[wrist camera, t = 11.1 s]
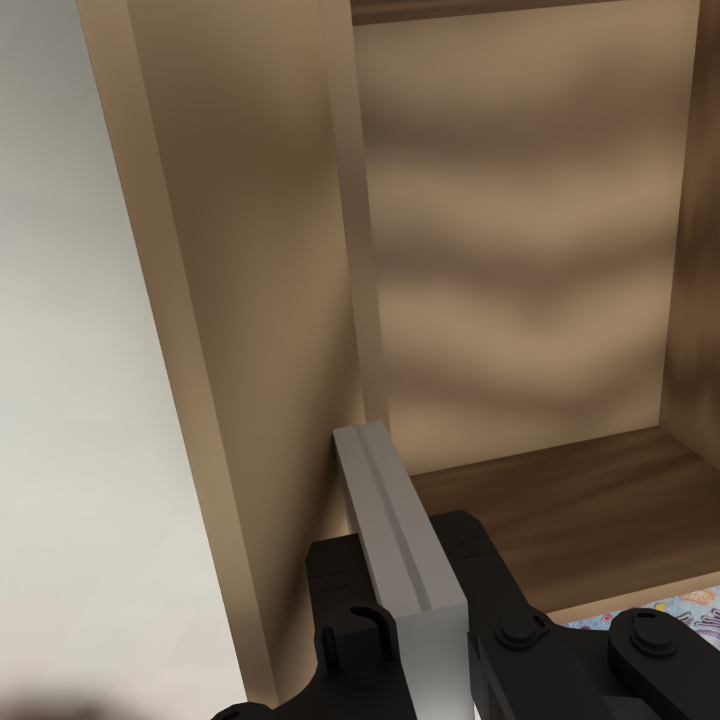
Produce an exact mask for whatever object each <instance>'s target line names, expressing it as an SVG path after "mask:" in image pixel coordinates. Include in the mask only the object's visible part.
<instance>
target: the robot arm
mask: <svg viewBox="0 0 720 720" xmlns="http://www.w3.org/2000/svg"><path fill="white" fill-rule="evenodd" d="M333 439H334V445H335V452H336V459H337V466H338V473H339V480H340V487H341V493H342V500H343V507H344V514H345V519H346V523H347V527H348V531H349V535H345V536H340V537H335V538H330V539H326V540H321V541H316V542H312V544H311V547H310V549H309V551H308V554H307V556H306V559H305V565H306V572H307V579H308V585H309V592H310V599H311V606H312V613H313V620H314V627H315V633H314V646H315V651H316V657H317V662H318V665H317V668H316V671H315V674H314V676H313V677H312V679H311V681H310V682H309V684H308V685H307V686H306V687H305V688H304V689H303V690H302V691H301V692H300V693H299V694H297V695H296V696H294V697H293V698H292V699H290V700H289V701H287V702H285V703H283V704H282V705H280V706H278V707H276V708H275V709H273V710H272V709H271V708H269V707H268V706H266V705H265V704H261V703H255V702H245V703H240V704H235V705H232V706H230V707H228V708H226V709H224V710H223V711H221V712H219V713H217V714H216V715H215V716H214V717H213V718H212V719H211V720H475V714H474V703H475V705H476V708H477V710H478V713H479V715H480V718H481V720H720V651H719V650H718V649H717V648H716V647H714V646H713V645H712V644H711V643H709V642H708V641H707V640H705V639H704V638H703V637H702V636H700V635H699V634H698V633H696V632H695V631H694V630H693V629H691V628H690V627H689V626H687V625H686V624H685V623H684V622H682V621H680V620H679V619H677V618H675V617H674V616H672V615H670V614H669V613H666V612H662V611H659V610H656V609H652V608H632V609H628V610H625V611H621V612H620V613H619V614H618V615H617V616H615V617H614V618H613V619H612V621H611V624H610V627H609V630H591V629H576V628H569V627H564V626H561V625H558V624H555V623H554V622H553V621H552V620H551V619H550V618H549V617H548V616H547V615H546V614H545V613H544V612H542V611H540V610H538V609H536V608H534V607H532V606H531V605H530V604H529V603H528V601H527V599H526V598H525V596H524V594H523V593H522V591H521V589H520V588H519V586H518V584H517V583H516V581H515V579H514V577H513V576H512V574H511V572H510V571H509V569H508V567H507V566H506V564H505V562H504V561H503V559H502V557H501V556H500V554H498V551H497V549H496V547H495V545H494V544H493V542H492V541H491V540H490V537H489V535H488V534H487V532H486V530H485V529H484V527H483V525H482V524H481V522H480V521H479V520H478V519H476V518H475V517H473V516H472V515H470V514H469V513H468V512H466V511H465V510H463V509H462V510H457V511H452V512H447V513H442V514H438V515H433V516H427V514H426V512H425V510H424V508H423V506H422V503H421V501H420V499H419V497H418V495H417V493H416V491H415V489H414V486H413V484H412V482H411V480H410V478H409V476H408V474H407V471H406V469H405V467H404V465H403V463H402V461H401V459H400V456H399V454H398V452H397V450H396V448H395V446H394V444H393V442H392V439H391V437H390V435H389V433H388V431H387V429H386V427H385V424H384V422H383V420H380V421H375V422H369V423H364V424H359V425H353V426H348V427H343V428H337V429H333Z"/></svg>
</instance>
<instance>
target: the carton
mask: <svg viewBox="0 0 720 720" xmlns="http://www.w3.org/2000/svg"><path fill="white" fill-rule="evenodd" d="M319 8H320V17H321V26H322V35H323V44H324V52H325V61H326V70H327V79H328V88H329V97H330V106H331V115H332V124H333V133H334V142H335V151H336V160H337V169H338V178H339V187H340V196H341V205H342V214H343V223H344V232H345V241H346V250H347V259H348V268H349V277H350V286H351V295H352V304H353V313H354V322H355V331H356V340H357V349H358V358H359V367H360V376H361V384H362V393H363V402H364V411H365V420H366V423H369V422H375V421H380V420H383V422H384V424H385V427H386V429H387V431H388V433H389V435H390V437H391V439H392V442H393V444H394V446H395V448H396V450H397V452H398V454H399V456H400V459H401V461H402V463H403V465H404V467H405V469H406V471H407V474H408V476H409V478H410V480H411V482H412V484H413V486H414V489H415V491H416V493H417V495H418V497H419V499H420V501H421V503H422V506H423V508H424V510H425V512H426V514H427V516H433V515H438V514H442V513H447V512H452V511H457V510H462V509H463V510H465V511H466V512H468V513H469V514H470V515H472V516H473V517H475V518H476V519H478V520H479V521H480V522H481V524H482V525H483V527H484V529H485V530H486V532H487V534H488V535H489V537H490V540H491V541H492V542H493V544H494V545H495V547H496V549H497V551H498V554H500V556H501V557H502V559H503V561H504V562H505V564H506V566H507V567H508V569H509V571H510V572H511V574H512V576H513V577H514V579H515V581H516V583H517V584H518V586H519V588H520V589H521V591H522V593H523V594H524V596H525V598H526V599H527V601H528V603H529V604H530V605H531V606H532V607H534V608H536V609H538V610H540V611H542V612H544V613H545V614H546V615H547V616H548V617H549V618H550V619H551V620H552V621H553V622H554V623H555V624H558V625H562V624H566V623H570V622H575V621H579V620H583V619H587V618H591V617H595V616H599V615H603V614H607V613H611V612H615V611H619V610H623V609H627V608H631V607H635V606H639V605H643V604H647V603H651V602H655V601H659V600H663V599H667V598H671V597H675V596H679V595H683V594H687V593H691V592H695V591H699V590H703V589H707V588H711V587H715V586H719V585H720V0H319Z"/></svg>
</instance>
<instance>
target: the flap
mask: <svg viewBox="0 0 720 720" xmlns="http://www.w3.org/2000/svg"><path fill="white" fill-rule="evenodd" d="M76 3H77V7H78V11H79V15H80V19H81V23H82V27H83V31H84V35H85V39H86V43H87V47H88V51H89V56H90V60H91V64H92V68H93V72H94V76H95V80H96V84H97V88H98V92H99V96H100V100H101V105H102V109H103V113H104V117H105V121H106V125H107V129H108V133H109V137H110V141H111V145H112V149H113V153H114V158H115V162H116V166H117V170H118V174H119V178H120V182H121V186H122V190H123V194H124V198H125V202H126V206H127V211H128V215H129V219H130V223H131V227H132V231H133V235H134V239H135V243H136V247H137V251H138V255H139V260H140V264H141V268H142V272H143V276H144V280H145V284H146V288H147V292H148V296H149V300H150V304H151V308H152V313H153V317H154V321H155V325H156V329H157V333H158V337H159V341H160V345H161V349H162V353H163V357H164V361H165V366H166V370H167V374H168V378H169V382H170V386H171V390H172V394H173V398H174V402H175V406H176V410H177V414H178V419H179V423H180V427H181V431H182V435H183V439H184V443H185V447H186V451H187V455H188V459H189V463H190V468H191V472H192V476H193V480H194V484H195V488H196V492H197V496H198V500H199V504H200V508H201V512H202V516H203V521H204V525H205V529H206V533H207V537H208V541H209V545H210V549H211V553H212V557H213V561H214V565H215V569H216V574H217V578H218V582H219V586H220V590H221V594H222V598H223V602H224V606H225V610H226V614H227V618H228V623H229V627H230V631H231V635H232V639H233V643H234V647H235V651H236V655H237V659H238V663H239V667H240V671H241V676H242V680H243V684H244V688H245V692H246V696H247V700H248V702H255V703H261V704H265V705H266V706H268V707H269V708H271V709H272V710H273V709H275V708H276V707H278V706H280V705H282V704H283V703H285V702H287V701H289V700H290V699H292V698H293V697H294V696H296V695H297V694H299V693H300V692H301V691H302V690H303V689H304V688H305V687H306V686H307V685H308V684H309V682H310V681H311V679H312V677H313V676H314V674H315V671H316V668H317V665H318V662H317V657H316V651H315V646H314V633H315V627H314V620H313V613H312V606H311V599H310V592H309V585H308V579H307V572H306V565H305V559H306V556H307V554H308V551H309V549H310V547H311V544H312V542H316V541H321V540H326V539H330V538H335V537H340V536H345V535H349V531H348V527H347V523H346V519H345V514H344V507H343V500H342V493H341V487H340V480H339V473H338V466H337V459H336V452H335V445H334V439H333V429H337V428H343V427H348V426H353V425H359V424H364V423H366V420H365V411H364V402H363V393H362V384H361V376H360V367H359V358H358V349H357V340H356V331H355V322H354V313H353V304H352V295H351V286H350V277H349V268H348V259H347V250H346V241H345V232H344V223H343V214H342V205H341V196H340V187H339V178H338V169H337V160H336V151H335V142H334V133H333V124H332V115H331V106H330V97H329V88H328V79H327V70H326V61H325V52H324V44H323V35H322V26H321V17H320V8H319V0H76Z"/></svg>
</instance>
